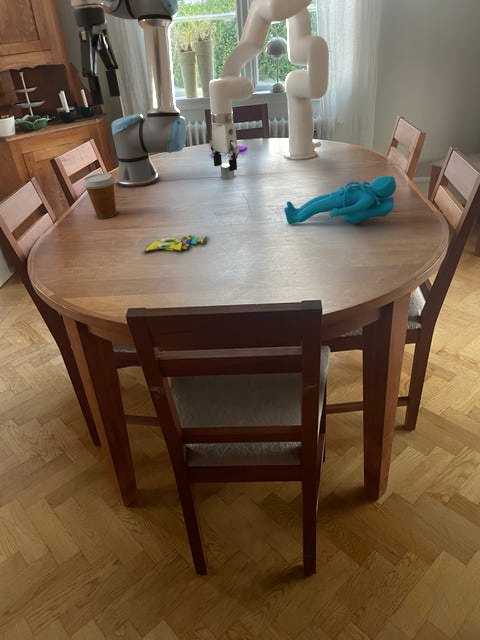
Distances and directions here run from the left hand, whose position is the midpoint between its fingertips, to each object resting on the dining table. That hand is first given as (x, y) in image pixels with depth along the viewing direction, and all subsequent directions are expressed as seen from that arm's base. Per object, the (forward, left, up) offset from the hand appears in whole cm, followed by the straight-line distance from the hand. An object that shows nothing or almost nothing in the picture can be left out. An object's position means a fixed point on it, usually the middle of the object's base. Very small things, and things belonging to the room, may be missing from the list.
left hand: (107, 100), depth 131 cm
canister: (-22, +43, -34) cm, 59 cm away
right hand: (-21, +42, -31) cm, 56 cm away
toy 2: (+39, +49, -34) cm, 72 cm away
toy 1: (+26, +5, -34) cm, 44 cm away
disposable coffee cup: (-10, -6, -34) cm, 36 cm away
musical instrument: (-59, +57, -34) cm, 89 cm away
